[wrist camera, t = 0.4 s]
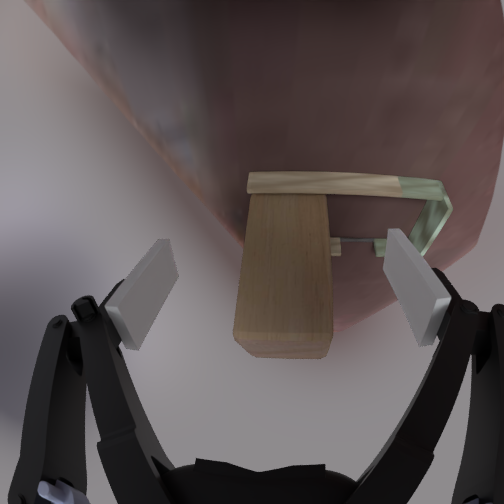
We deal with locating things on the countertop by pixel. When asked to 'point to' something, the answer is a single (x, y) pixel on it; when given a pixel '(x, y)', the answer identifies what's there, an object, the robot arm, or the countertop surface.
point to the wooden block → (286, 278)
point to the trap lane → (365, 184)
